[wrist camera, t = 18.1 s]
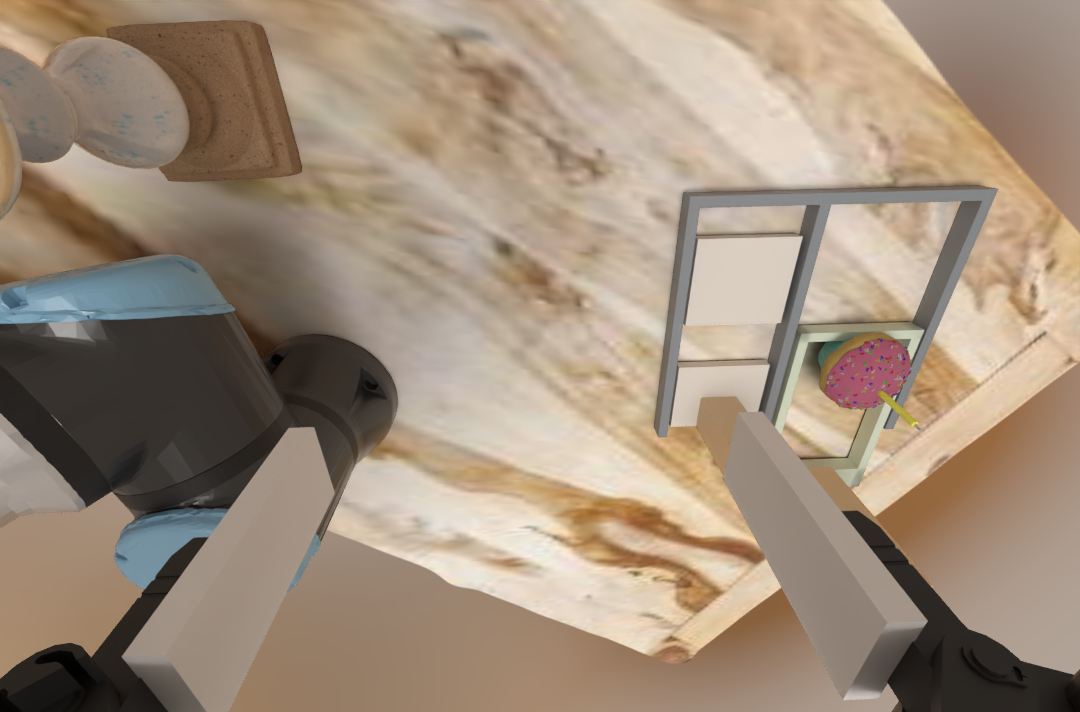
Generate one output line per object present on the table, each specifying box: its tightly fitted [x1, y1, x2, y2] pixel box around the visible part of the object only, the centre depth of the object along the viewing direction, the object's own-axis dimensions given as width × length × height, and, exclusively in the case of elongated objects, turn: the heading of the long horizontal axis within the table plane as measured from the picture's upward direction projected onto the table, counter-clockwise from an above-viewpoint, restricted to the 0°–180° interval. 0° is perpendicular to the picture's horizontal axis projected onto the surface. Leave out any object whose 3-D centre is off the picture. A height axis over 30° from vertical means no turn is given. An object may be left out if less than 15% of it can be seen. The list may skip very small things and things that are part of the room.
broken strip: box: [669, 233, 803, 476], centre depth 42 cm, size 22×10×17 cm, turn 1°
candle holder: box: [0, 21, 302, 221], centre depth 27 cm, size 11×11×24 cm
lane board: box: [654, 186, 998, 437], centre depth 48 cm, size 27×28×2 cm
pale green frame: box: [771, 322, 933, 588], centre depth 47 cm, size 22×13×18 cm, turn 1°
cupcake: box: [818, 332, 923, 432], centre depth 46 cm, size 9×8×12 cm
